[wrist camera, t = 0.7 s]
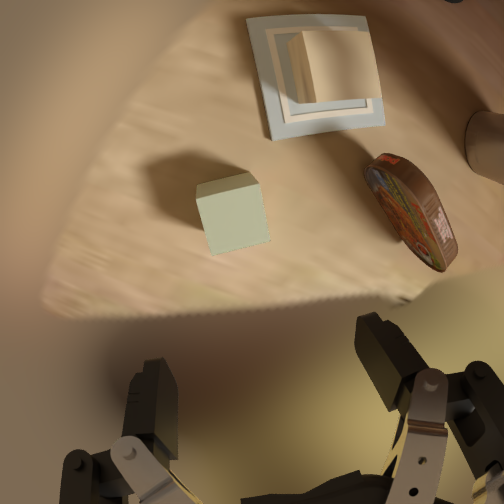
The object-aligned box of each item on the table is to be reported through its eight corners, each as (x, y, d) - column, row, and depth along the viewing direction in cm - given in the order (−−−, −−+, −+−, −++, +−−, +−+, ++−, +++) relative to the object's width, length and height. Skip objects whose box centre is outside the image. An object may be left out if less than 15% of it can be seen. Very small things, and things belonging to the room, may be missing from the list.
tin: (351, 160, 28) (399, 180, 20) (371, 142, 27) (423, 156, 20) (408, 253, 34) (449, 287, 27) (424, 237, 33) (467, 268, 26)
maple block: (345, 41, 21) (369, 31, 17) (356, 98, 24) (381, 97, 20) (286, 43, 21) (301, 31, 17) (298, 104, 24) (316, 102, 20)
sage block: (249, 171, 27) (259, 183, 22) (259, 220, 29) (270, 241, 25) (196, 184, 27) (195, 199, 22) (209, 233, 29) (211, 256, 24)
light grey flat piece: (362, 17, 21) (366, 16, 20) (382, 124, 26) (386, 125, 26) (245, 20, 20) (246, 17, 19) (271, 140, 26) (273, 141, 25)
